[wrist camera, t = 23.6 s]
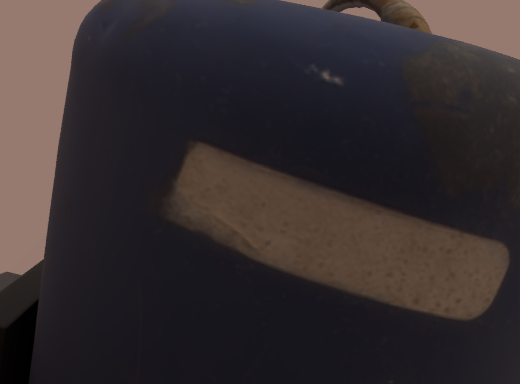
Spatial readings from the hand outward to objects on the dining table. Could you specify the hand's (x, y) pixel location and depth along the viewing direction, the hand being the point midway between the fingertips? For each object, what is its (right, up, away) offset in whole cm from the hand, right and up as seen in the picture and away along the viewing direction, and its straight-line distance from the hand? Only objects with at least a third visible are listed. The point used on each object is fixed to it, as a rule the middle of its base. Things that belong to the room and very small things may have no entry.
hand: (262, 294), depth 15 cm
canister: (-2, -10, -2) cm, 11 cm away
